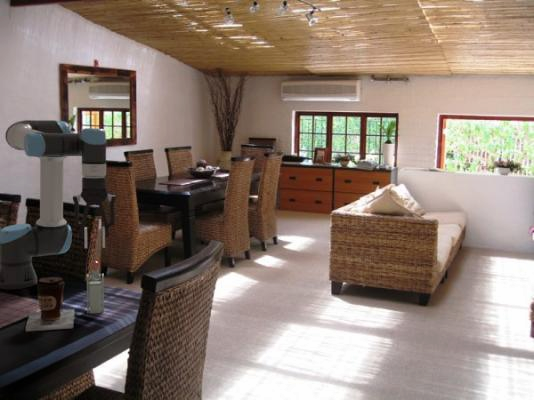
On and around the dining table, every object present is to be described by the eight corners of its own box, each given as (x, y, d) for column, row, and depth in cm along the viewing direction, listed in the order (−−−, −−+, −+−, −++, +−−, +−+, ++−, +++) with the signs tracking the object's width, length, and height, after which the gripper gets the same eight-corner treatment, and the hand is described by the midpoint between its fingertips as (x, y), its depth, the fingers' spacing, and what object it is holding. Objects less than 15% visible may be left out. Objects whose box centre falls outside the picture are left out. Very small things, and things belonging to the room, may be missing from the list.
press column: (87, 309, 203) (86, 273, 201) (103, 308, 205) (103, 273, 203) (87, 313, 199) (86, 277, 198) (104, 312, 201) (103, 276, 199)
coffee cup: (55, 323, 185) (54, 284, 183) (31, 320, 187) (30, 281, 185) (69, 314, 194) (69, 276, 192) (47, 312, 195) (46, 274, 194)
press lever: (89, 283, 200) (89, 275, 202) (100, 282, 201) (100, 274, 203) (89, 268, 188) (89, 260, 189) (100, 268, 189) (100, 259, 190)
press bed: (30, 316, 195) (30, 311, 195) (74, 313, 199) (74, 309, 199) (25, 331, 182) (25, 326, 182) (72, 328, 186) (72, 323, 186)
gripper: (64, 178, 181) (65, 250, 185) (123, 178, 187) (123, 248, 190) (65, 175, 189) (66, 245, 192) (122, 175, 194) (122, 243, 197)
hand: (94, 246), depth 191 cm, fingers open, 5 cm apart
